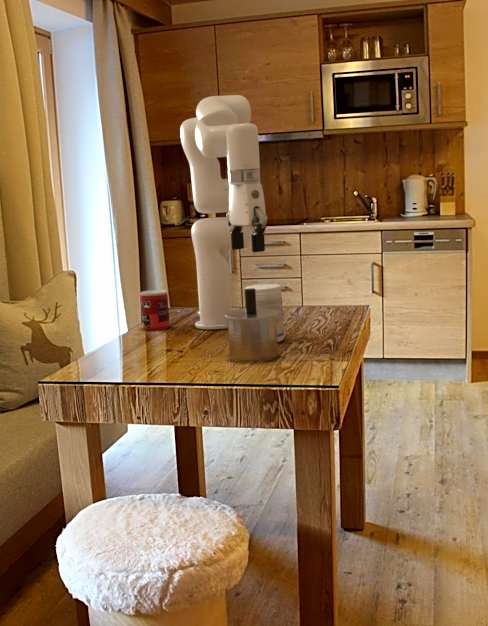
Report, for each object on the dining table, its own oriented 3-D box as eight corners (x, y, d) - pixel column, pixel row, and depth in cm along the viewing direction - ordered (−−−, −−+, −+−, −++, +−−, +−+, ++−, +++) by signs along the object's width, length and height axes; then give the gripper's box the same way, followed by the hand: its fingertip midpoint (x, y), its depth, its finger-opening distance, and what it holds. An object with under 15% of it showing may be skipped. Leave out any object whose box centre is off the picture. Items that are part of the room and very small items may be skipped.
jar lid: (215, 317, 202) (213, 289, 201) (260, 310, 208) (259, 283, 207) (241, 325, 191) (239, 295, 190) (288, 317, 197) (287, 288, 195)
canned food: (142, 326, 250) (139, 290, 248) (169, 324, 250) (166, 288, 248) (143, 331, 242) (140, 294, 240) (170, 329, 243) (167, 292, 241)
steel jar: (221, 357, 204) (218, 315, 202) (261, 350, 209) (259, 309, 207) (244, 366, 194) (242, 322, 192) (286, 358, 199) (284, 315, 197)
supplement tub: (291, 340, 217) (289, 285, 215) (263, 346, 212) (260, 290, 210) (268, 335, 226) (265, 282, 223) (240, 341, 220) (237, 287, 218)
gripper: (277, 176, 188) (280, 251, 191) (239, 177, 203) (243, 246, 206) (248, 178, 184) (252, 254, 188) (212, 179, 200) (217, 249, 203)
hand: (247, 250), depth 197 cm, fingers open, 9 cm apart
